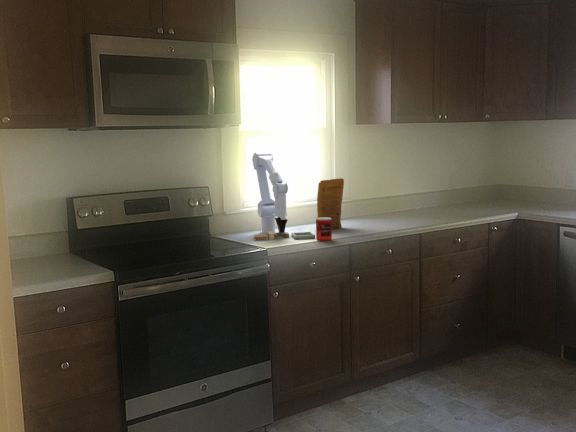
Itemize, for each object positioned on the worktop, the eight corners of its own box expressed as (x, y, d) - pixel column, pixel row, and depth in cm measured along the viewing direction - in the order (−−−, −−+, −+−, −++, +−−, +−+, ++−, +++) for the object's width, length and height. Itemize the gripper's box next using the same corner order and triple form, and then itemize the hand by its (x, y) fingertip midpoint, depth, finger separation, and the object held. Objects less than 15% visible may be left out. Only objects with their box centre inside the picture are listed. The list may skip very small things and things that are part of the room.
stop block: (267, 237, 337) (267, 231, 336) (272, 237, 337) (272, 231, 337) (269, 239, 329) (269, 233, 328) (274, 239, 329) (274, 233, 329)
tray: (291, 236, 339) (291, 232, 338) (310, 235, 340) (310, 231, 340) (295, 239, 327) (295, 236, 326) (315, 238, 328) (315, 235, 328)
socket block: (274, 236, 340) (273, 232, 339) (287, 235, 341) (287, 232, 340) (275, 238, 333) (275, 234, 332) (289, 237, 334) (289, 233, 334)
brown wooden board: (254, 238, 336) (254, 234, 336) (265, 238, 337) (265, 233, 337) (255, 241, 327) (255, 236, 327) (267, 240, 328) (267, 236, 328)
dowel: (278, 236, 338) (277, 223, 337) (284, 236, 338) (283, 223, 338) (279, 237, 335) (278, 224, 334) (284, 237, 335) (284, 223, 335)
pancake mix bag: (348, 227, 364) (347, 178, 361) (320, 231, 354) (318, 180, 351) (341, 226, 370) (340, 177, 366) (313, 229, 360) (312, 179, 357)
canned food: (322, 238, 328) (321, 216, 327) (335, 239, 323) (334, 217, 322) (313, 240, 322) (312, 218, 321) (326, 241, 317) (325, 219, 316)
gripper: (271, 204, 341) (272, 230, 343) (274, 207, 327) (275, 234, 329) (284, 204, 342) (285, 229, 344) (288, 207, 328) (289, 233, 330)
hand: (281, 231), depth 336 cm, fingers open, 5 cm apart
